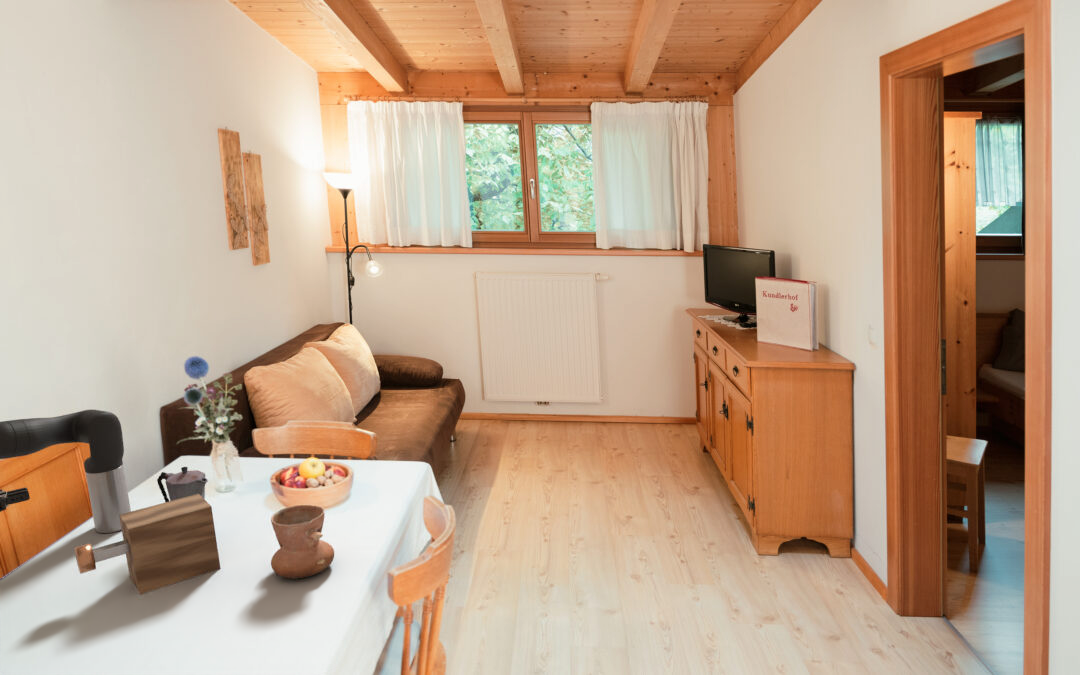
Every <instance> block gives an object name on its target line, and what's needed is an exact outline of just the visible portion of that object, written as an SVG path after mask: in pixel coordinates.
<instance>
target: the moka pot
mask: <svg viewBox="0 0 1080 675" xmlns="http://www.w3.org/2000/svg"><path fill="white" fill-rule="evenodd" d="M162 480H165V485H166V488H165V487H164V484H163V482H162ZM156 481H157V486H158V487H159V490H160V492H161V494H162V496H163V500H164V501H165V502H169V501H173V500H177V499H180V498H184V497H188V496H192V495H195V494H200V495H201V496H202V497H203V498H204V499H205V497H206V493H205V492H206V484H207V483H208V481H209V480H208V479H207V477H206V474H205V472H203V471H201V470H197V469H196V470H188V467H187V466H182V467H181V471H179V472H177V473H171V472H169V473H167V472H165V471H162V472H161V473H160V475H158V477H157V479H156ZM165 489H166V490H167V492H166V490H165ZM168 497H169V498H168ZM205 500H206V499H205ZM165 502H164V503H165Z"/></svg>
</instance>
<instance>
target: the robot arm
mask: <svg viewBox="0 0 1080 675" xmlns="http://www.w3.org/2000/svg"><path fill="white" fill-rule="evenodd" d="M123 437H124V436H123V429H122V424H121V421H120V419H119V417H118V416H117V414H114V413H113V412H112V411H111V412H110V411H107V410H106V411H105V410H99V409H85V410H80V411H77V412H72V413H68V414H64V415H59V416H53V417H52V416H51V417H34V418H33V417H31V418H19V419H11V420H5V421H4V420H3V421H0V460H6V459H12V458H18V457H19V458H20V457H24V456H29V455H32V454H35V453H38V452H40V451H42V450H45V449H46V448H48V447H49V448H50V447H51V446H55V445H56V446H57V445H62V444H73V443H75V444H76V443H78V444H79V443H82V444H88V445H89V453H90V456H89V457H87V458H86V459H85V460H84V461H83V462H84V463H83V468H84V473H85V479H86V484H87V489H88V495H89V501H90V506H91V507H90V508H91V512H92V516H93V517H92V518H93V524H94V530H95V532H96V533H99V534H109V533H115V532H119V531H122V529H121V523H120V517H119V515H120V514H124V513H128V512H132V511H131V510H132V509H131V504H130V498H129V492H128V485H127V480H126V473H125V468H124V461H123V457H124V454H125V446H124V438H123ZM30 499H31V496H30V493H29V490H28V488H27V487H26V486H25V487H22V488H16V489H13V490H8V491H7V490H3V489H0V513H1V512H4V511H5V510H6V511H7V507H9V506H10V505H14V504H17V503H22V502H27V501H29V500H30Z"/></svg>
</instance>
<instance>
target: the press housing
mask: <svg viewBox="0 0 1080 675" xmlns="http://www.w3.org/2000/svg"><path fill="white" fill-rule="evenodd" d="M212 507H213V506H212V505H211V504H210V503H209V502H208V501H207V500H206V499H204V498H203V497H202V496H201V495H200V494H195V495H192V496H188V497H184V498H180V499H177V500H173V501H170V500H169V502H163V503H159V504H154V505H151V506H148V507H142V508H140V509H136V510H132V511H131V512H128V513H124V514H120V515H119V517H120V523H121V529H122V530H121V534H122V541H123V540H126V539H127V541H128V543H129V549H130V553H127V554H125V557H126V562H127V563H126V564H127V568H128V575H129V579H130V580H131V582H132V584H133V586H134V587H135V588H136V590H137V592H138V594H139V595H142V594H146V593H148V592H152V591H155V590H157V589H161V587H162V588H165V587H168V586H171V585H173V584H177V583H179V581H180V582H183V581H186V580H189V579H191V578H195V576H196V577H198V575H199V576H202V575H205V574H208V573H211V572H214V571H216V570H220V569H221V563H220V556H219V549H218V542H217V537H216V536H217V535H216V529H215V527H216V526H215V522H214V521H215V520H214V515H213V509H212ZM201 574H202V575H201ZM182 580H183V581H182ZM176 582H177V583H176Z"/></svg>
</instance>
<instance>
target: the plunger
mask: <svg viewBox="0 0 1080 675" xmlns="http://www.w3.org/2000/svg"><path fill="white" fill-rule="evenodd" d="M74 553H75V559H76V563H77V564H76V565H77V568H78V571H79V574H80V575H81V574H84V573H85V574H86V573H88V572H92V571H94V570H96V569H97V566H96V563H99V562H102V561H106V560H108V559H113V558H116V557H120V556H123V555H126V554H127V553H130V549H129V543H128V541H127V539H126V540H123V539H122V540H120V541H116V542H113V543H110V544H106V545H102V546H99V547H95V548H92V544H91V543H90V542H89V543H86V544H85V543H84V544H82V545H78V546H75V547H74Z"/></svg>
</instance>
